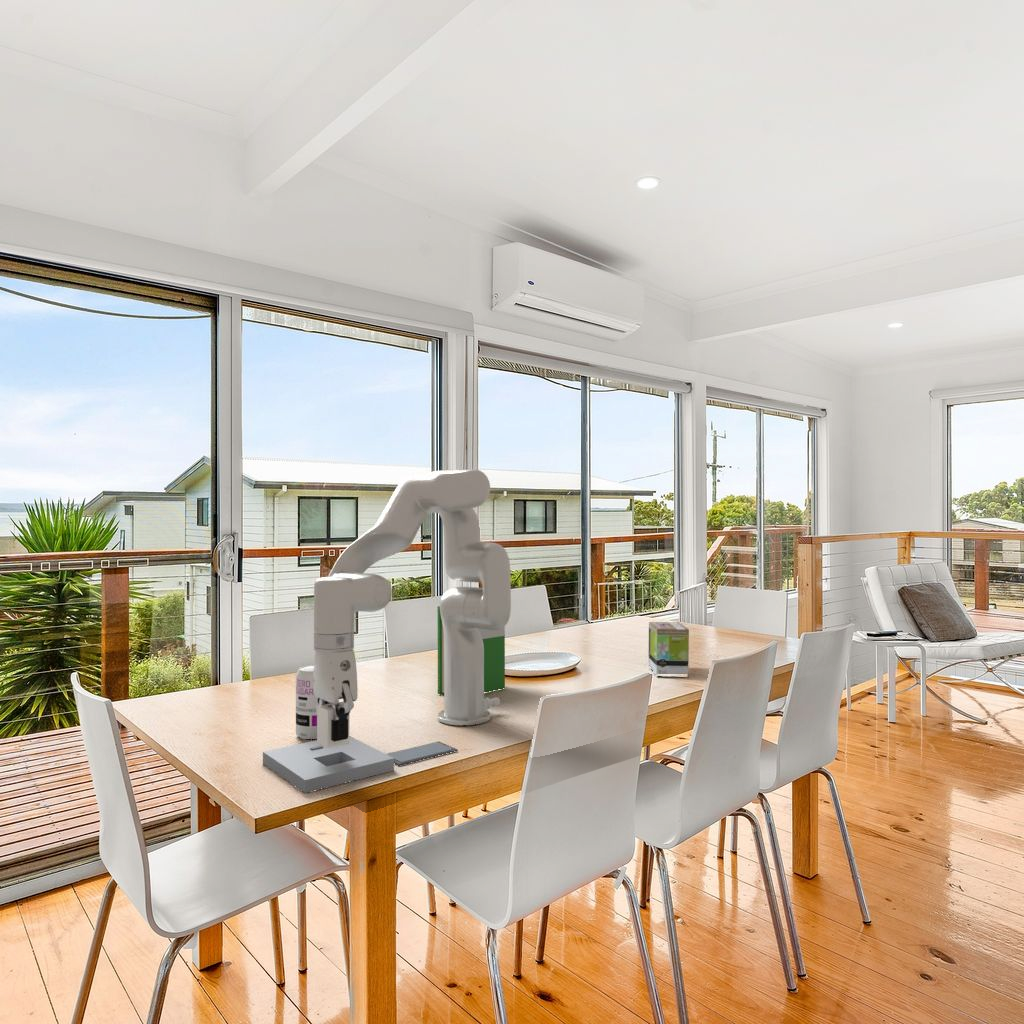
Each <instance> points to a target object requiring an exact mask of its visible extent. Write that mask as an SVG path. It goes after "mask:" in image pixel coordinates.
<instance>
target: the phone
mask: <svg viewBox="0 0 1024 1024" xmlns="http://www.w3.org/2000/svg"><path fill="white" fill-rule="evenodd" d="M454 751H459V749H457V748H455V747H453V746H451V745H448V744H446V743H443V742H441V741H439V740H438V741H434V742H431V743H426V744H423V745H418V746H414V747H410V748H405V749H402V750H396V751H393V752H389V753H386V754H387V755H389V756H391V757H393V758H394V763H395V764H397V765H398V766H397V765H396V766H397V767H401V766H400V765H403V766H405V765H404V764H407V765H410V764H409V763H411V762H415V763H417V762H416V761H419V760H423V759H427V758H431V757H434V758H436V757H435V756H438V755H442V754H446V753H450V752H454ZM454 753H455V752H454ZM450 754H451V753H450ZM446 755H447V754H446ZM442 756H443V755H442ZM438 757H439V756H438ZM431 759H432V758H431ZM427 760H428V759H427ZM423 761H424V760H423ZM419 762H420V761H419ZM395 764H394V765H395ZM411 764H412V763H411Z"/></svg>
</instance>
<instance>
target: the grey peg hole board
mask: <svg viewBox="0 0 1024 1024" xmlns="http://www.w3.org/2000/svg"><path fill="white" fill-rule="evenodd" d="M387 754H388V753H385V752H383V751H381V750H379V749H376V748H374V747H372V746H371V745H370V744H369V745H368V744H367V743H365V742H363V741H360V740H359V739H356V738H355V737H353V736H351V735H349V744H344V745H339V746H335V747H330V748H327V747H325V746H323V745H321V744H319V743H317V740H310V741H308V742H301V743H299V744H293V745H287V746H283V747H278V748H274V749H270V750H264V751H262V765H264V766H265V767H267V768H268V769H269V768H270V770H271V771H272V770H273V771H272V772H274V773H275V772H276V773H275V774H276V775H278V774H279V775H280V776H279V775H278V776H279V777H281V778H282V777H283V778H282V779H284V780H285V779H286V780H285V781H287V782H288V781H289V782H290V784H291V785H292V784H293V785H292V786H294V785H295V786H296V787H297V789H298V788H299V789H300V790H299V789H298V790H299V791H301V790H302V791H303V792H302V791H301V792H302V793H304V792H305V793H306V794H308V793H307V792H310V793H312V792H311V791H314V790H318V789H321V788H325V789H327V788H326V787H329V788H331V787H330V786H333V785H337V786H339V785H338V784H341V785H343V784H342V783H345V782H349V781H352V782H354V781H353V780H356V781H358V780H357V779H360V780H362V779H361V778H364V779H367V778H366V777H368V778H370V777H369V776H372V777H374V776H373V775H376V776H379V775H382V774H381V773H383V774H386V773H385V772H387V773H390V772H389V771H391V772H394V771H395V764H394V758H393V757H391V756H389V755H387ZM393 770H394V771H393ZM378 774H379V775H378ZM289 782H288V783H289ZM349 783H350V782H349ZM345 784H346V783H345ZM295 786H294V787H295ZM296 787H295V788H296ZM333 787H334V786H333ZM321 790H322V789H321ZM318 791H319V790H318ZM314 792H315V791H314ZM305 793H304V794H305Z"/></svg>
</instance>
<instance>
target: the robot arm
mask: <svg viewBox="0 0 1024 1024" xmlns="http://www.w3.org/2000/svg"><path fill="white" fill-rule="evenodd" d="M490 494H491V484H490V480H489V477H488V476H487V474H485V473H484V472H483V471H481V470H479V469H476V468H475V469H471V468H470V469H446V470H445V469H444V470H441V469H440V470H434V471H430V472H427V473H425V474H424V473H421V474H420V473H419V474H412V475H408V476H406V477H404V478H403V479H402V480H401V481H400V482H399V483H398V485H397V487H395V490H394V491H393V493H392V495H391V497H390V499H389V501H388V503H387V505H386V506H385V508H384V510H383V511H382V513H381V515H380V517H379V518H378V519H377V522H376V523H375V525H374V526H373V527H372V528H370V529H369V530H367V531H366V532H364V533H363V534H362V535H361V536H359V538H357V539H356V540H355V541H353V542H352V543H351V544H350V545H348V546H347V547H346V548H345V549H344V550H343V552H342V553H340V555H339V557H338V558H337V560H336V561H335V562H334V564H333V566H332V568H331V570H330V572H329V573H328V575H327V576H324V577H323V576H321V577H319V578H317V579H316V580H315V582H314V584H313V651H315V653H314V663H313V665H314V694H315V695H316V697H317V699H318V701H317V702H318V704H319V705H325V704H331V703H332V708H333V718H334V720H331V740H332V741H334V742H335V741H340V740H344V739H347V738H348V718H349V719H350V717H351V716H350V714H351V711H352V710H353V709H354V707H355V704H354V703H355V702H356V701H357V700H358V697H359V696H358V692H359V691H358V672H357V661H356V654H355V613H356V612H358V613H359V612H363V613H364V612H367V613H373V612H378V611H380V610H383V609H384V608H385V607H387V605H388V604H389V603H390V601H391V599H392V595H393V590H392V584H391V583H390V582H389V580H388V579H387V578H386V577H384V576H381V575H380V574H374V573H365V572H366V571H367V570H368V569H369V568H370V567H372V566H373V565H374V564H376V563H378V562H379V561H382V560H384V559H386V558H389V557H391V556H394V555H396V554H398V553H401V552H403V551H404V550H407V549H408V548H409V547H410V546H411V545H412V543H414V542H413V541H414V539H415V538H416V536H417V534H418V532H419V530H420V528H421V526H422V524H423V522H424V520H426V517H427V515H428V514H436V513H437V514H438V515H439V517H440V518H441V521H442V525H443V537H444V538H443V541H444V565H445V566H444V567H445V572H446V575H447V577H448V578H450V579H451V580H454V581H456V582H457V581H458V582H469V583H480V584H482V587H475V586H455V587H451V588H449V589H447V590H446V591H445V592H444V593H442V596H441V598H440V601H439V606H440V615H441V620H442V625H443V632H444V695H443V696H444V697H443V699H444V702H443V703H444V704H443V705H444V707H443V708H444V709H442V710H441V711H440V712H439V713H437V720H438V721H439V722H441V723H443V724H445V725H450V726H459V727H460V726H461V727H462V726H463V725H466V726H475V724H476V725H480V724H484V723H486V722H488V721H489V720H490V719H491V712H490V711H489V710H488V709H490V708H491V707H496V706H499V705H500V704H501V700H500V698H499V697H493V698H489V697H485V694H484V644H483V640H482V637H481V635H480V633H479V631H478V629H477V628H480V629H490V630H498V629H501V628H503V627H504V626H505V627H506V625H507V624H508V622H509V620H510V617H511V612H512V611H511V610H512V594H511V593H512V589H511V587H512V586H511V584H512V583H511V564H510V563H511V562H510V558H509V554H508V552H507V550H506V549H505V548H504V547H503V546H502V545H501V544H499V543H495V542H491V541H489V542H486V541H481V535H480V534H481V531H480V522H479V521H480V520H479V518H478V514H477V513H476V511H475V509H474V508H478V507H480V506H482V505H484V503H486V502H487V500H488V498H489V497H490ZM340 700H343V701H340ZM341 705H343V707H341V708H340V709H339V711H338V706H341Z"/></svg>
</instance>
